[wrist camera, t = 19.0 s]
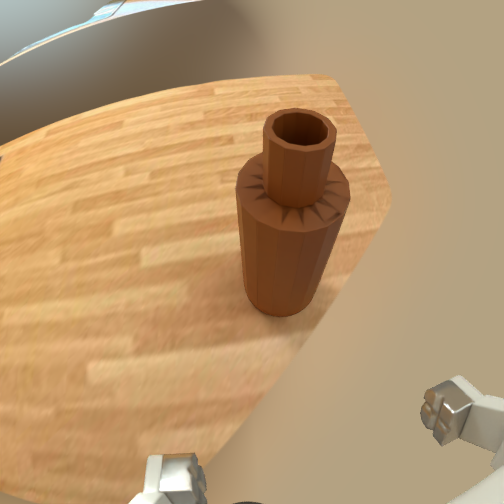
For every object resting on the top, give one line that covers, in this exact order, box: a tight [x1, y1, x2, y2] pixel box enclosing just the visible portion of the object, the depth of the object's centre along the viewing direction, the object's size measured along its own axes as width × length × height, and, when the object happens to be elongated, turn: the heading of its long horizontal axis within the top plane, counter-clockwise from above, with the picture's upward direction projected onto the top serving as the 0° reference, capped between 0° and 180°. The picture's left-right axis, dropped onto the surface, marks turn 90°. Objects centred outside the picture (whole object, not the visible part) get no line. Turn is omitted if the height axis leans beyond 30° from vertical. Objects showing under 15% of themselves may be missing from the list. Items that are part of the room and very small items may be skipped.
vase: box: [235, 108, 350, 317], centre depth 21 cm, size 6×6×17 cm
